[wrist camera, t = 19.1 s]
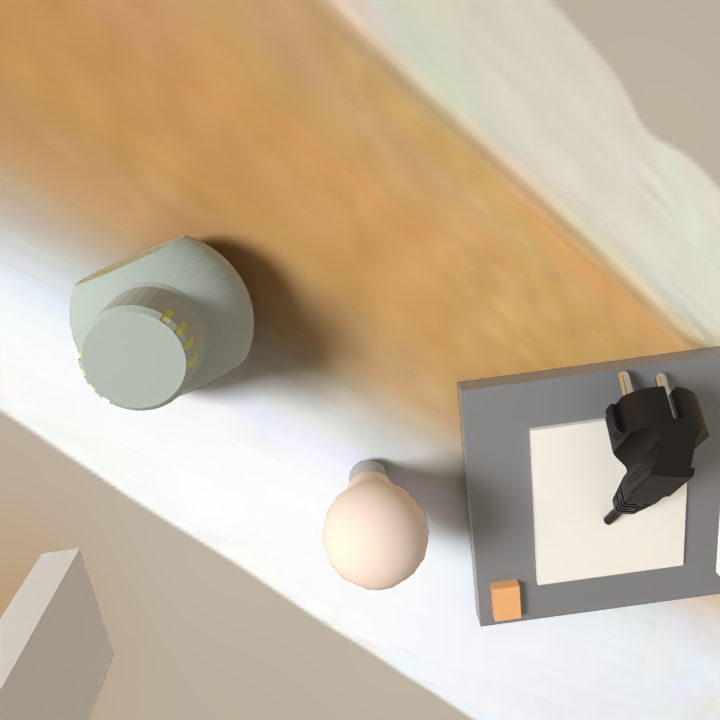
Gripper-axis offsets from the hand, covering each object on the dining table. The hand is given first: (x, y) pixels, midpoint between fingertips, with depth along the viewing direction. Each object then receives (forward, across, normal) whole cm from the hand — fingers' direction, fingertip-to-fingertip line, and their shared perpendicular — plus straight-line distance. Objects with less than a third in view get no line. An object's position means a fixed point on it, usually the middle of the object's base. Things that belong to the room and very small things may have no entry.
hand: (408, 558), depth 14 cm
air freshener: (+32, -12, -2) cm, 34 cm away
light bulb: (+32, -1, -16) cm, 36 cm away
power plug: (+32, +16, -20) cm, 41 cm away
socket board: (+32, +16, -20) cm, 41 cm away
